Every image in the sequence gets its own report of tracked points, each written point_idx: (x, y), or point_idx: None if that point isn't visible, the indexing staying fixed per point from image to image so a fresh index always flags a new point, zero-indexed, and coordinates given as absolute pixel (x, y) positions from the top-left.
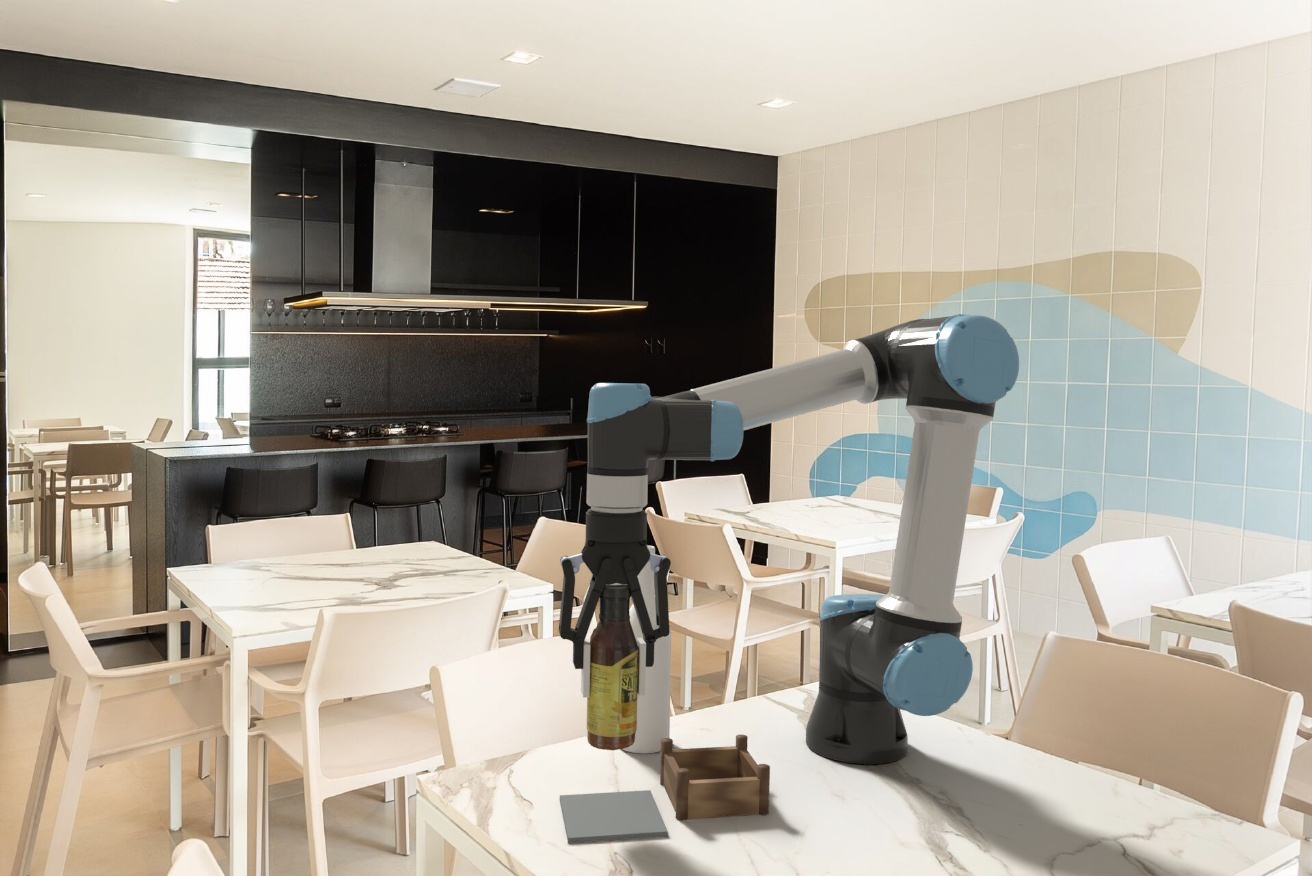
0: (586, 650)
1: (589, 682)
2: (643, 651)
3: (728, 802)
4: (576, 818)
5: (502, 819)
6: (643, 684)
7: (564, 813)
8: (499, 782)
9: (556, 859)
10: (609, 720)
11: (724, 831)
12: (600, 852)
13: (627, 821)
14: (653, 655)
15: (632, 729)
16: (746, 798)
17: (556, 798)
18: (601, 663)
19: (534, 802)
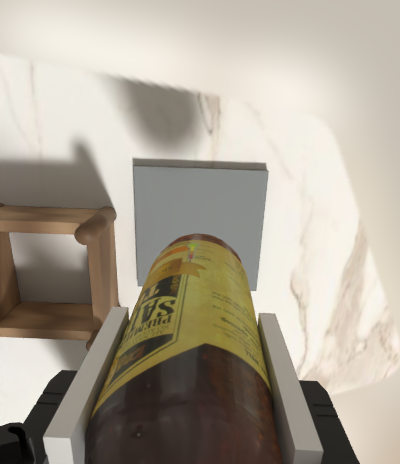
0: (305, 427)
1: (266, 338)
2: (69, 406)
3: (37, 212)
4: (247, 224)
5: (335, 248)
6: (108, 323)
7: (259, 240)
8: (318, 344)
9: (290, 127)
10: (211, 255)
11: (57, 166)
12: (230, 136)
13: (182, 203)
14: (39, 400)
15: (159, 257)
16: (8, 212)
17: (258, 292)
18: (242, 366)
19: (287, 286)
